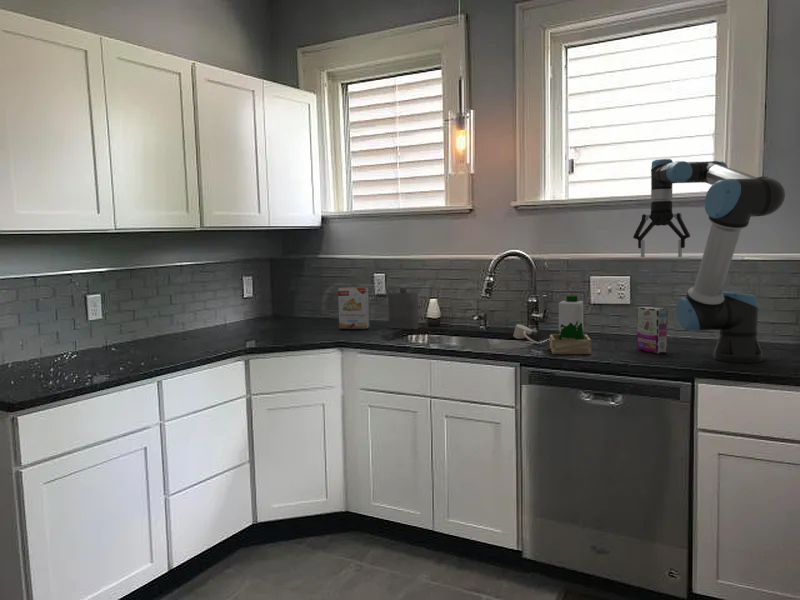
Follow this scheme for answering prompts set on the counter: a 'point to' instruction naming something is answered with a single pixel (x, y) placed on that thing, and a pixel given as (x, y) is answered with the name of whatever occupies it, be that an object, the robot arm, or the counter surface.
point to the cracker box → (353, 307)
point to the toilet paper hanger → (524, 333)
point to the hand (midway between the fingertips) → (661, 257)
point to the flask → (403, 309)
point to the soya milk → (571, 319)
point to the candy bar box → (652, 329)
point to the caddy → (570, 345)
